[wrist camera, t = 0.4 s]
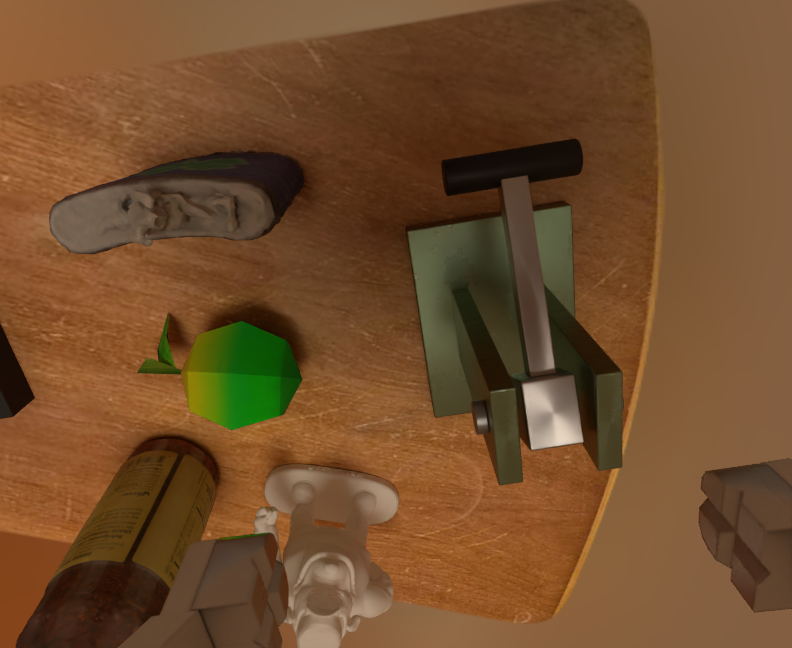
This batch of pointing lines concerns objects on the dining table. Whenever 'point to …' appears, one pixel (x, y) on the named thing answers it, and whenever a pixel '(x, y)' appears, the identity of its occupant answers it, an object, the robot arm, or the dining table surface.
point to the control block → (11, 382)
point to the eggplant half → (181, 202)
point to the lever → (528, 281)
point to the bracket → (506, 332)
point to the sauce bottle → (127, 550)
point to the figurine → (329, 548)
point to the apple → (233, 374)
